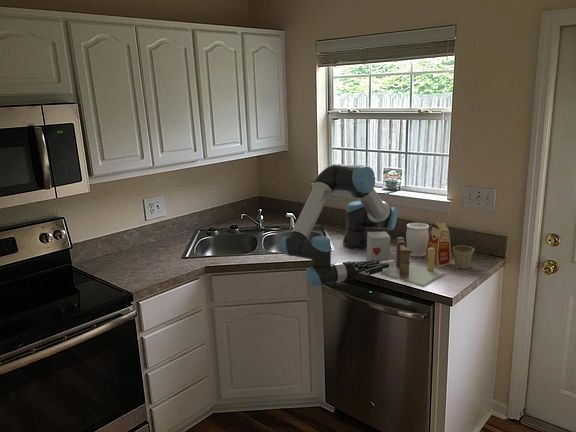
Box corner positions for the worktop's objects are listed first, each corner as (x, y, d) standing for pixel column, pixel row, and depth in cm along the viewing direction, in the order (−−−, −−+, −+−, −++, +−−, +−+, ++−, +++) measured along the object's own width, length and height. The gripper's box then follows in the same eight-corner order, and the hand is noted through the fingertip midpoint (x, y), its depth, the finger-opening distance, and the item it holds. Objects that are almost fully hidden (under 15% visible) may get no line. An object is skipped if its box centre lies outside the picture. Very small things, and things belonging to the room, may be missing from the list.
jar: (425, 251, 240) (427, 222, 236) (429, 257, 230) (431, 228, 226) (404, 250, 241) (405, 222, 237) (407, 257, 231) (408, 228, 227)
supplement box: (370, 268, 219) (370, 237, 215) (366, 261, 227) (366, 231, 224) (390, 267, 219) (390, 236, 215) (385, 261, 228) (386, 230, 224)
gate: (396, 265, 217) (397, 240, 214) (407, 265, 216) (408, 240, 213) (400, 277, 204) (401, 250, 201) (411, 277, 203) (413, 250, 200)
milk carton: (438, 267, 218) (440, 225, 213) (423, 261, 226) (425, 220, 221) (452, 263, 222) (455, 221, 217) (437, 257, 230) (439, 217, 225)
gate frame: (380, 274, 211) (380, 244, 208) (402, 263, 224) (403, 234, 220) (423, 286, 197) (424, 254, 193) (444, 274, 209) (446, 244, 206)
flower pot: (446, 266, 219) (448, 248, 216) (459, 261, 224) (460, 244, 222) (465, 272, 211) (466, 253, 209) (477, 267, 217) (478, 248, 215)
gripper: (336, 274, 201) (385, 266, 209) (350, 286, 189) (402, 276, 197) (336, 257, 199) (386, 250, 207) (350, 268, 187) (402, 259, 195)
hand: (393, 263), depth 202 cm, fingers closed
